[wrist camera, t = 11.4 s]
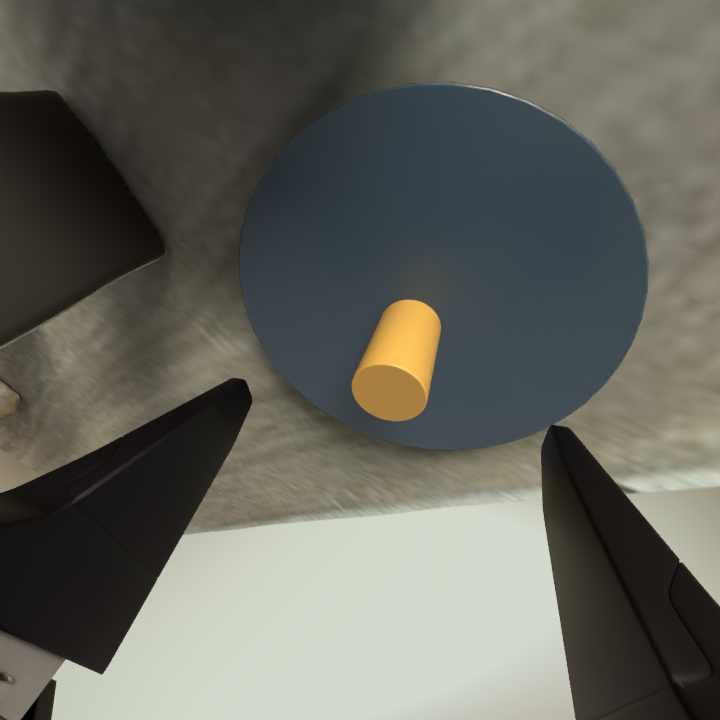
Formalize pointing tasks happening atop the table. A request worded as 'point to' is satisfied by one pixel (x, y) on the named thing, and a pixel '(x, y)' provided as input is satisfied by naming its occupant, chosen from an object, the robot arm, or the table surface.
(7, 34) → the table surface
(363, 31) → the table surface
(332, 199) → the tin lid
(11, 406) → the pastry
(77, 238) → the battery charger
